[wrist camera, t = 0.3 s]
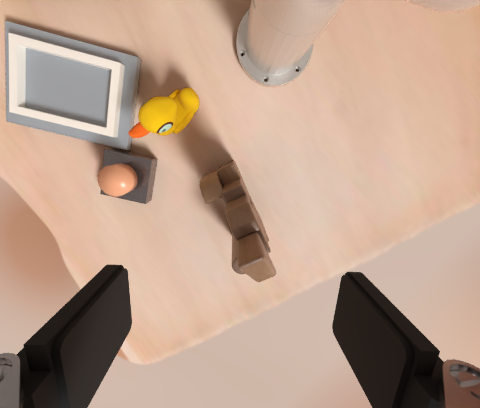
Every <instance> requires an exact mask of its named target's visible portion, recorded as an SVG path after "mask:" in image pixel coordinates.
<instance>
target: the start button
mask: <svg viewBox="0 0 480 408" xmlns="http://www.w3.org/2000/svg"><path fill="white" fill-rule="evenodd" d="M137 182H138V177H137V174H136V172H135V171H134V169H133V168H132V167H130V166H129V165H126V164H114V165H109V166H106V167H104V168H102V169H101V170H100V172H99V174H98V184H99V186H100V188H101V189H102V190H103V191H104V192H105V193H106V194H108V195H110V196H115V197H117V196H122V195H124V194H126V193H128V192H130V191H132V190H133V189H134V188H135V187H136V185H137Z"/></svg>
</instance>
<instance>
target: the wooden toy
mask: <svg viewBox="0 0 480 408" xmlns="http://www.w3.org/2000/svg"><path fill="white" fill-rule="evenodd" d="M200 189H201V192H202V195H203V197H204V200H205V202H206V204H207V203H209V202H211V201H214V200H216V199H218V198H220V197H222V196H223V198H224V200H225V202H226V212H225V215H226V218H227V221H228V224H229V227H230V230H231V232H232V268H233V270H234V271H235V272H237V273H239V274H247V275H248V276H250V277H251V278H252V279H254V280H255V281H257V282H261V281H263V280H266V279H268V278H271V277H273V276H275V275H276V270H275V268H274V266H273V264H272V261H271V259H270V257H269V255H268V253H270V248H269V245H268V241H269V239H268V237H267V234H266V231H265V228H264V226H263V223H262V220H261V218H260V216H259V214H258V212H257V209H256V208H255V206H254V204H253V202H252V200H251V197H250V195H249V193H248V191H247V188H246V186H245V184H244V181H243V179H242V176H241V174H240V172H239V170H238V168H237V165H236V163H235V161H231V162H229V163H227V164H225V165H223V166H221V167H219V169H218V170H216V171H214V172H211V173H209V174H207V175H205V176H204V177H203V178H202V179H201V180H200Z"/></svg>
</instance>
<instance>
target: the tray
mask: <svg viewBox="0 0 480 408" xmlns="http://www.w3.org/2000/svg"><path fill="white" fill-rule="evenodd" d="M5 46H6V117H7V122H11V123H15V124H19V125H23V126H27V127H32V128H36V129H40V130H44V131H48V132H53V133H57V134H61V135H65V136H69V137H74V138H78V139H82V140H86V141H90V142H95V143H99V144H103V145H107V146H111V147H116V148H120V149H124V150H131V141H132V137H131V136H130V135H129V134H128V132H129V131H130V130H131V129H132V128H133V124H134V116H135V107H136V99H137V91H138V82H139V74H140V65H141V60H140V59H139V58H138V57H136V56H132V55H129V54H125V53H121V52H118V51H114V50H111V49H107V48H103V47H100V46H96V45H92V44H89V43H85V42H81V41H78V40H74V39H71V38H67V37H63V36H60V35H56V34H52V33H49V32H45V31H41V30H38V29H34V28H31V27H27V26H23V25H20V24H16V23H12V22H9V21H5Z"/></svg>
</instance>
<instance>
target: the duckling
mask: <svg viewBox="0 0 480 408" xmlns="http://www.w3.org/2000/svg"><path fill="white" fill-rule="evenodd" d="M198 108H199V98H198V96H197V94H196V92H195V91H194V90H193V89H191V88H189V87H187V88H184V89H182V90H181V91H180V90H179V89H177V90H175V91H174V92H173V93H172V94H170V95H169V96H168V97H162V96H158V97H153V98H151V99H149V100H147V101H146V102H145V103H144V104H143V105H142V106H141V108H140V110H139V121H140V122H139V123H138V124H136V125H135V126H134V127H133V128H132V129H131V130H130V131H129V132H128V134H129V135H130V136H131V137H132V138H139V137H143V136H145V135H147V134H148V133H149V132H152V133H156V134H159V135H168V134H171V133H175V134H176V133H179V132H180V131H182V130H183V129H184V128H185V127H186V126H187V125H188V123H189V122H190V121H191V119H192V118H193V116H194V113H195V112H196V111H197V110H198Z"/></svg>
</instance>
